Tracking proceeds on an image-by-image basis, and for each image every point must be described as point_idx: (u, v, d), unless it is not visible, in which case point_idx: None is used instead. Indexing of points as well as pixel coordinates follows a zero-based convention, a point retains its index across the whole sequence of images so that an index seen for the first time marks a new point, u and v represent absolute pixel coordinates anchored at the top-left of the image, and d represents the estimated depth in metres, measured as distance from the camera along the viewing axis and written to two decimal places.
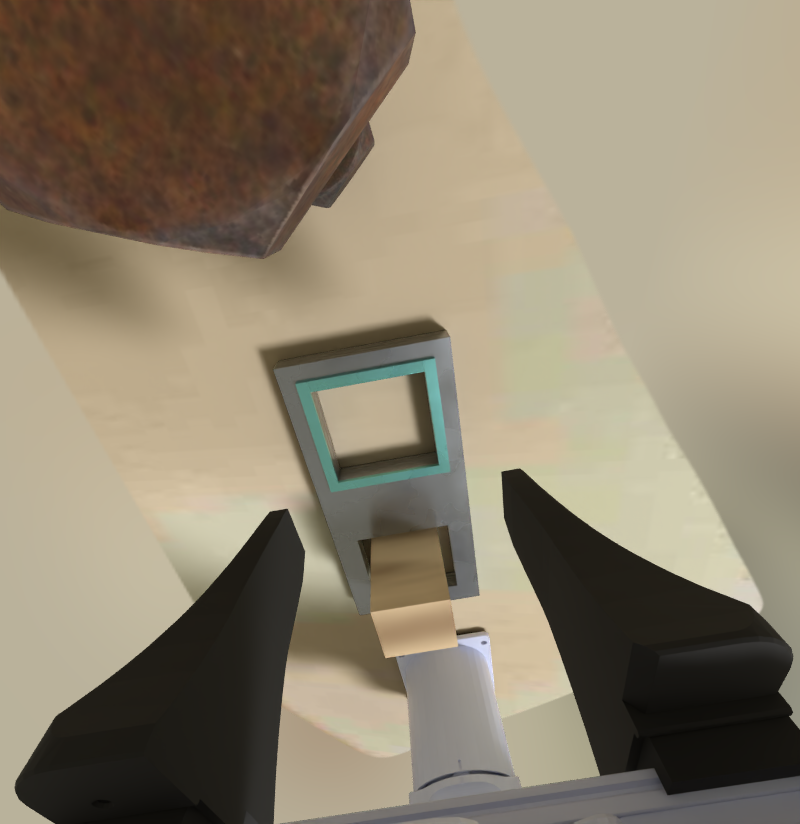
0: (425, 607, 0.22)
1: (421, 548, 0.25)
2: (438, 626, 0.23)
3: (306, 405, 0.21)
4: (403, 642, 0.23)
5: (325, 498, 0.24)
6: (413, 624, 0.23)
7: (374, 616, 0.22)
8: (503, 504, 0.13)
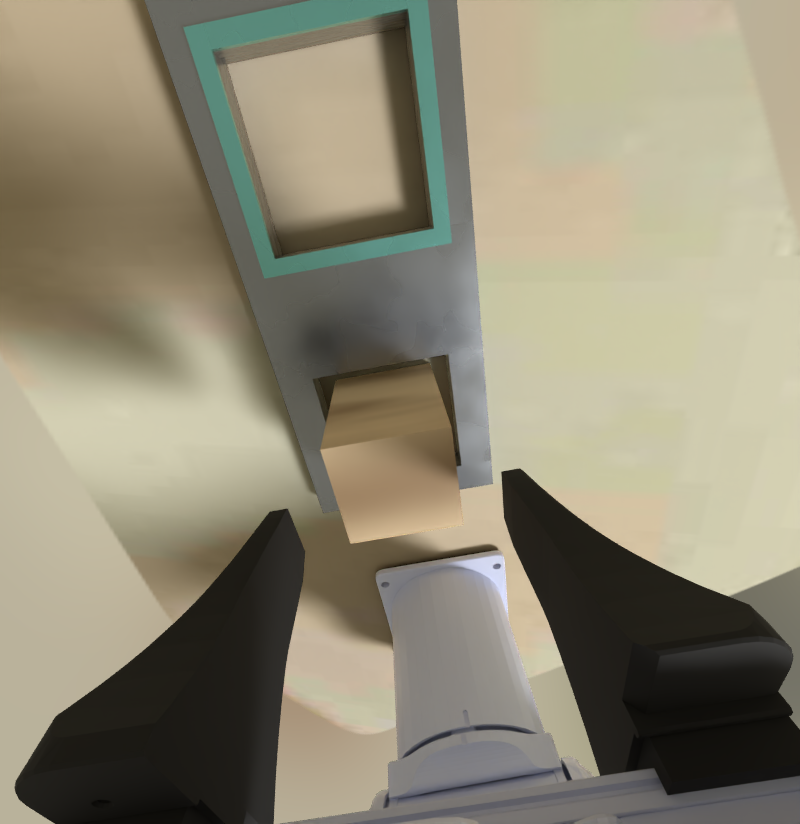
0: (410, 441, 0.13)
1: (407, 386, 0.17)
2: (432, 483, 0.14)
3: (207, 80, 0.12)
4: (377, 514, 0.15)
5: (257, 294, 0.15)
6: (391, 479, 0.14)
7: (327, 458, 0.14)
8: (503, 504, 0.13)
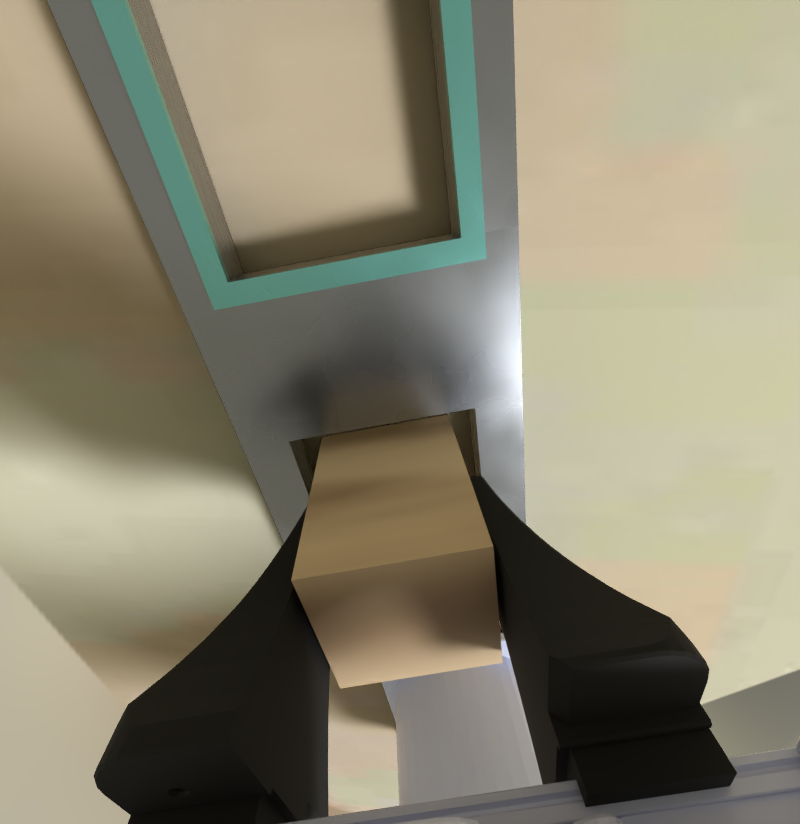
0: (429, 567, 0.09)
1: (420, 455, 0.12)
2: (460, 617, 0.10)
3: (103, 1, 0.08)
4: (378, 654, 0.10)
5: (206, 331, 0.11)
6: (400, 613, 0.09)
7: (303, 590, 0.09)
8: None
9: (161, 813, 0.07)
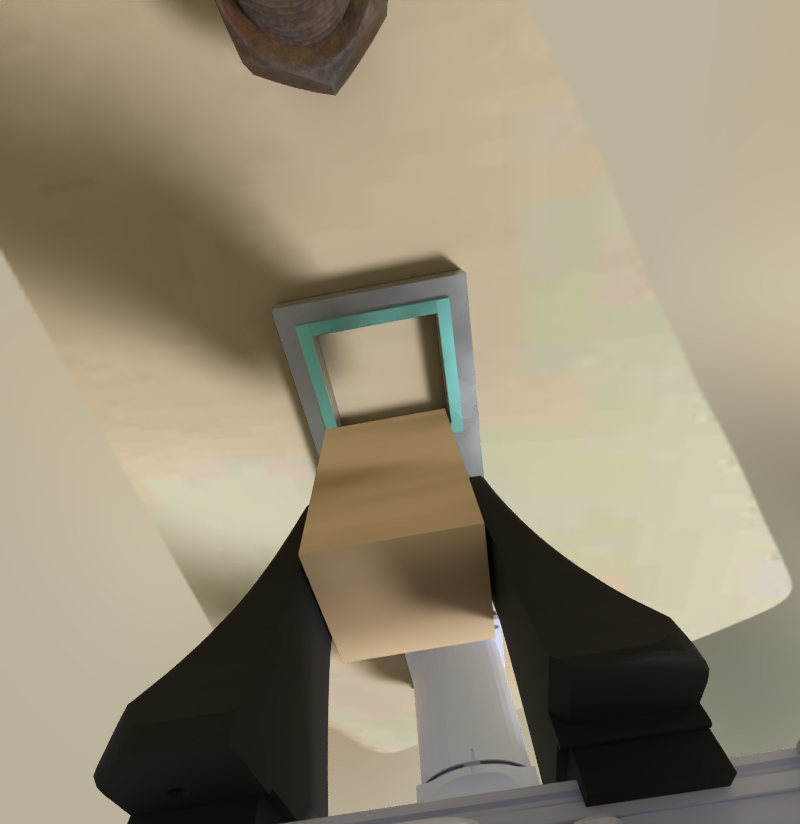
0: (426, 542, 0.10)
1: (417, 445, 0.13)
2: (455, 592, 0.10)
3: (307, 351, 0.19)
4: (379, 628, 0.11)
5: None
6: (398, 588, 0.10)
7: (309, 565, 0.10)
8: None
9: (160, 813, 0.07)
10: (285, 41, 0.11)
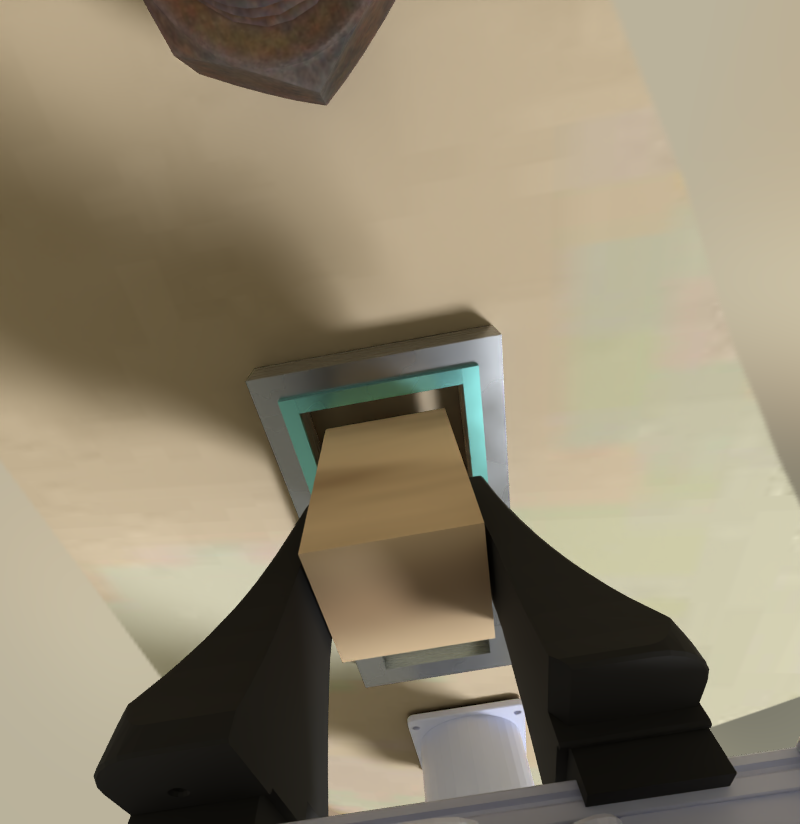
0: (426, 542, 0.10)
1: (417, 444, 0.13)
2: (454, 591, 0.10)
3: (294, 431, 0.15)
4: (378, 628, 0.11)
5: None
6: (399, 587, 0.10)
7: (308, 564, 0.10)
8: None
9: (161, 813, 0.07)
10: (239, 18, 0.06)
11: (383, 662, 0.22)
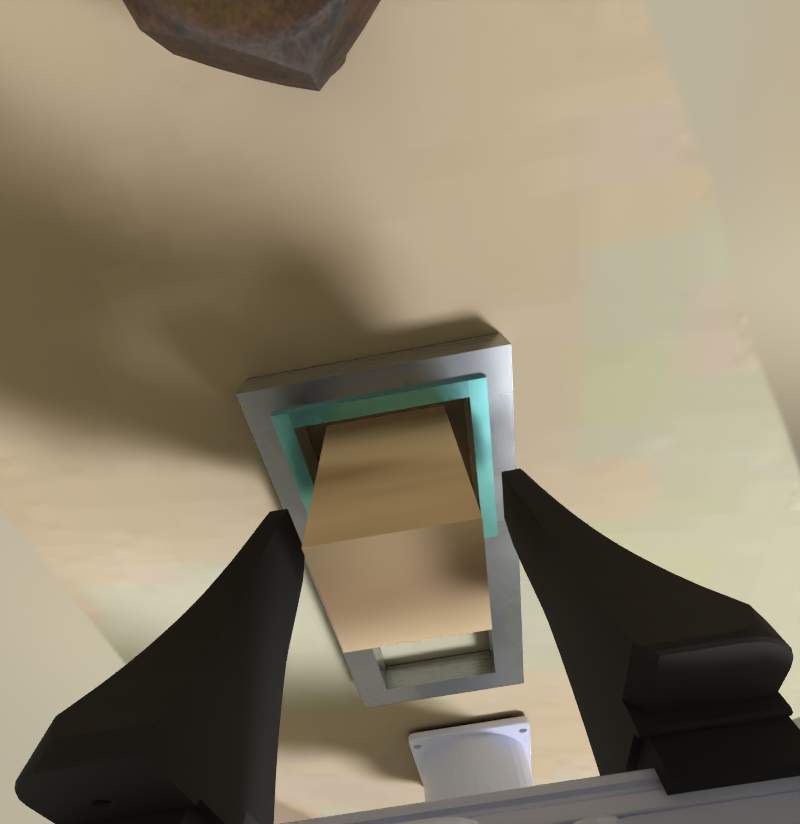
0: (425, 537, 0.10)
1: (417, 441, 0.13)
2: (453, 584, 0.11)
3: (288, 447, 0.14)
4: (379, 619, 0.11)
5: None
6: (398, 580, 0.10)
7: (311, 558, 0.10)
8: (503, 504, 0.13)
9: None
10: None
11: (383, 682, 0.21)
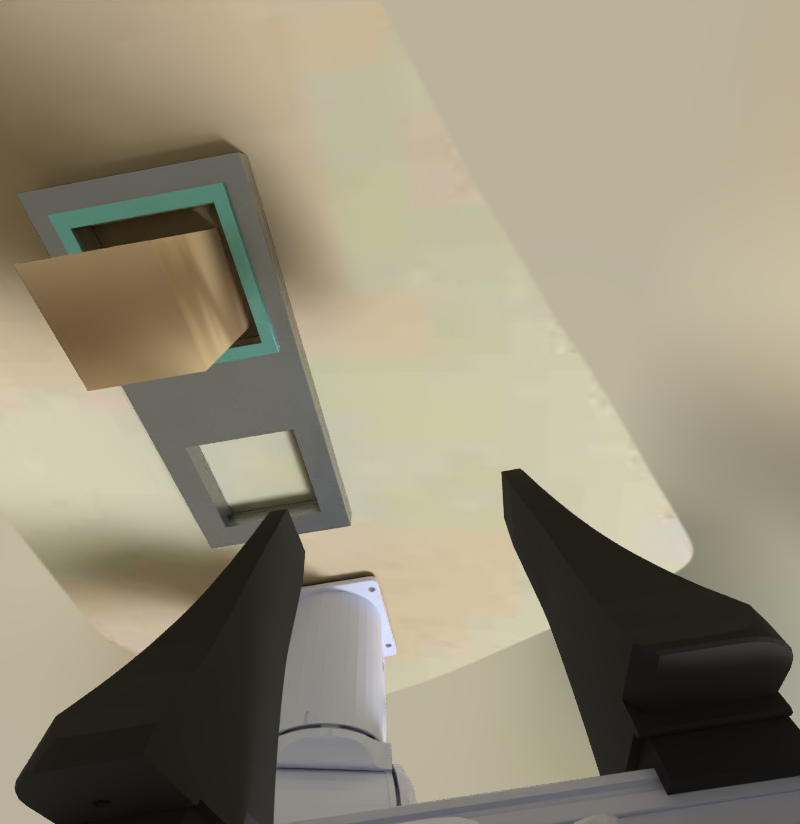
0: (111, 258, 0.13)
1: None
2: (153, 315, 0.14)
3: (70, 248, 0.16)
4: (105, 352, 0.14)
5: (131, 387, 0.20)
6: (106, 307, 0.13)
7: (25, 277, 0.13)
8: (503, 504, 0.13)
9: None
10: None
11: (221, 519, 0.24)
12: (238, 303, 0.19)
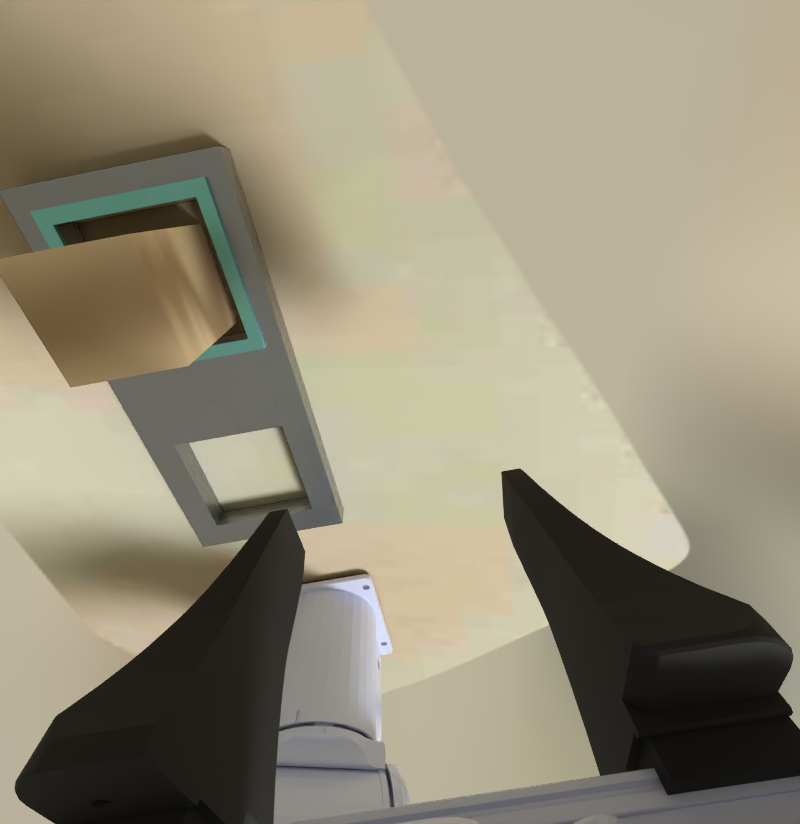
0: (89, 253, 0.13)
1: None
2: (134, 310, 0.13)
3: (53, 244, 0.16)
4: (86, 348, 0.14)
5: (118, 385, 0.20)
6: (86, 302, 0.13)
7: (3, 272, 0.13)
8: (503, 504, 0.13)
9: None
10: None
11: (212, 517, 0.24)
12: (224, 298, 0.19)
